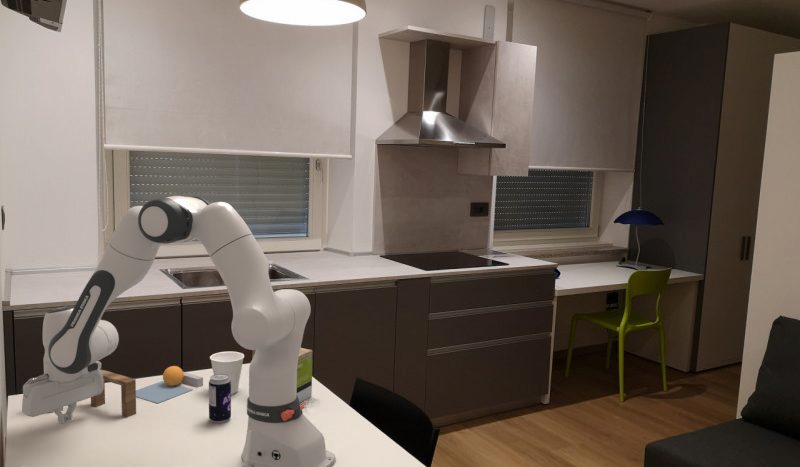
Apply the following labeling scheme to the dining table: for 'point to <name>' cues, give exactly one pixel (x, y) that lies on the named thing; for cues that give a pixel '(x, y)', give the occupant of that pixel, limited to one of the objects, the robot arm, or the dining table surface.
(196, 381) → the grey rectangular bar
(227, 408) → the beverage can
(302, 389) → the tea box
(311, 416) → the dining table surface
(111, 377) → the bridge
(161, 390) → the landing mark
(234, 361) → the cup
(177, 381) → the ball
